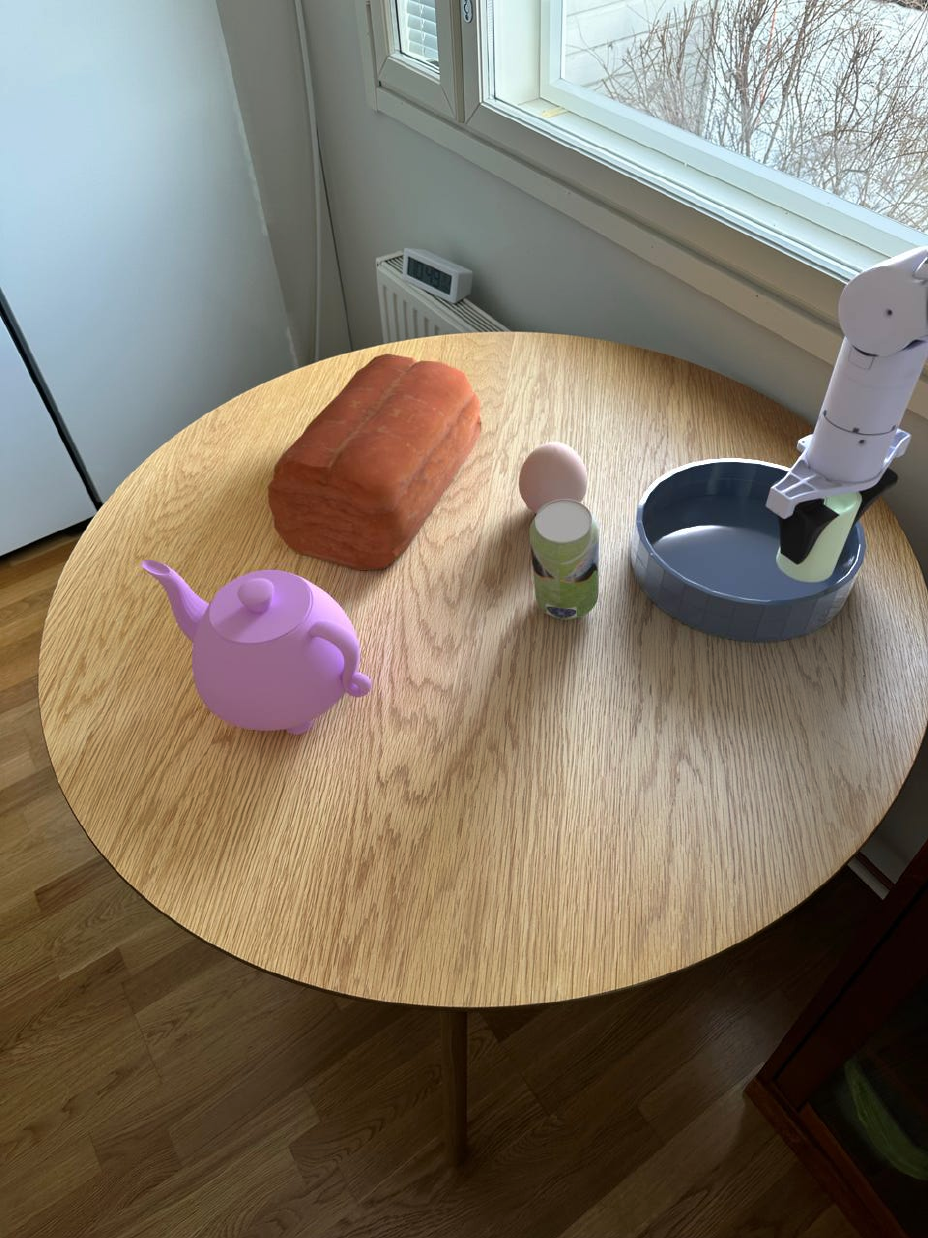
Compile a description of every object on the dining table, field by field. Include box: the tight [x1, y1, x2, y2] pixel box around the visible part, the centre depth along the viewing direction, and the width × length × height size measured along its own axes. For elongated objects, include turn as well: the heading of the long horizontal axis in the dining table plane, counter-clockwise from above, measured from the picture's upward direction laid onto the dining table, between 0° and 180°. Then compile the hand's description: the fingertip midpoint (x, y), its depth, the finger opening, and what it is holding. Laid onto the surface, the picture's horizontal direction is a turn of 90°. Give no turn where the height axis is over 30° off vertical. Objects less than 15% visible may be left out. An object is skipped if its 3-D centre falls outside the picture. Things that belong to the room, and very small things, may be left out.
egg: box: [518, 441, 588, 515], centre depth 86 cm, size 7×7×8 cm
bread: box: [267, 353, 482, 571], centre depth 89 cm, size 16×27×11 cm, turn 158°
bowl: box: [630, 457, 867, 643], centre depth 81 cm, size 21×21×5 cm
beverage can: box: [528, 499, 600, 621], centre depth 75 cm, size 6×7×12 cm
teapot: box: [141, 559, 373, 736], centre depth 70 cm, size 20×14×12 cm
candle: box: [777, 491, 862, 582], centre depth 72 cm, size 5×5×8 cm
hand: (812, 545), depth 73 cm, fingers closed on candle, 5 cm apart
